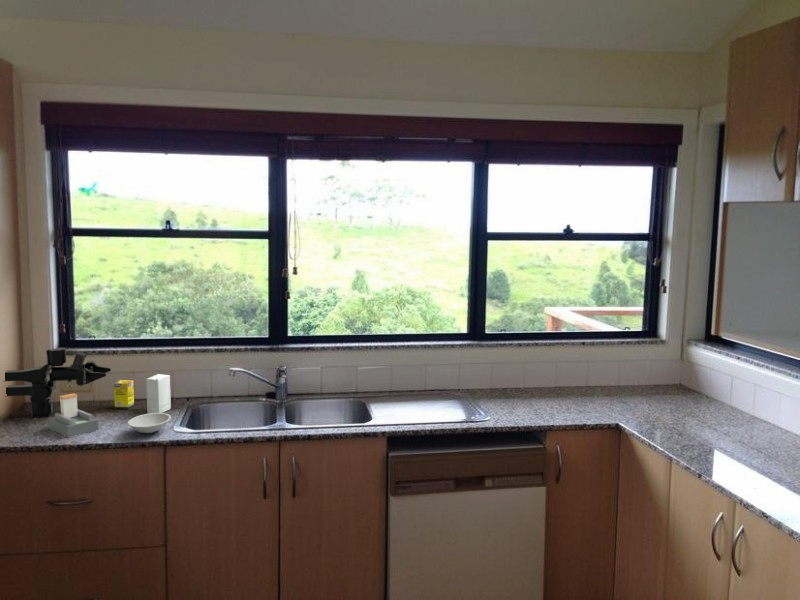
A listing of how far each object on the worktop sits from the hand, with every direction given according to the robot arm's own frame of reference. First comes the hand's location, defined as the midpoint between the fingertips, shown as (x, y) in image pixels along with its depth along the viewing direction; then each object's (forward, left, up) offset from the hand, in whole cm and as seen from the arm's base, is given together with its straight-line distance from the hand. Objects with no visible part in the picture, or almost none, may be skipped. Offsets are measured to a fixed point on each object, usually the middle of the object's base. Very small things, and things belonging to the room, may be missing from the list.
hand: (108, 372), depth 262 cm
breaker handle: (-10, -20, -12) cm, 26 cm away
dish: (+20, -32, -17) cm, 41 cm away
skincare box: (+20, -4, -17) cm, 26 cm away
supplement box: (+5, +6, -17) cm, 19 cm away
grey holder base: (-8, -22, -17) cm, 29 cm away
